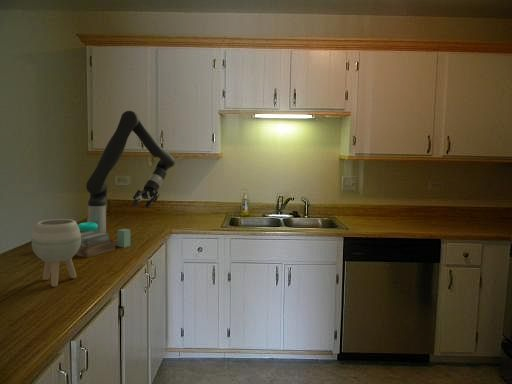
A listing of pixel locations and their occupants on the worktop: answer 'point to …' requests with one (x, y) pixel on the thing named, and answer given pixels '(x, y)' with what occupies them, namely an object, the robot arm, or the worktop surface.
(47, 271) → the planter
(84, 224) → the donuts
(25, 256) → the worktop surface
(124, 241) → the brick
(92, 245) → the brown truncated pyramid
